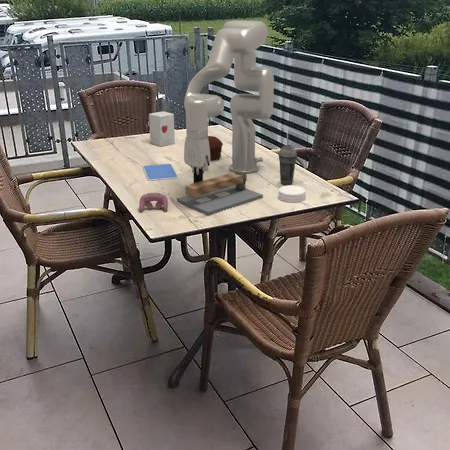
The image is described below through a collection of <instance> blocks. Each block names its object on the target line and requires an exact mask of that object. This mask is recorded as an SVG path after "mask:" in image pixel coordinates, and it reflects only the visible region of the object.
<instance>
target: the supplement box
mask: <svg viewBox="0 0 450 450" xmlns="http://www.w3.org/2000/svg"><path fill="white" fill-rule="evenodd" d="M148 118H149V119H148V121H149V138H150V139H149V140H150V142H149V143H150V144H152V145H155V146H158V147H165V146H170V145H174V144H176V143H175V142H176V141H175V134H176V133H175V114H174V113H172V112H167V111H164V110H163V111H157V112H152V113H151V112H150V113H149V114H148Z"/></svg>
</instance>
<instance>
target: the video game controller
mask: <svg viewBox="0 0 450 450" xmlns="http://www.w3.org/2000/svg"><path fill="white" fill-rule="evenodd" d="M152 202H156V203H155V205H153V203H152ZM168 206H169V201H168V196H167V195H166V194H164V193H160V192H149V193H144V194H143V195H141V197H140V199H139V212H140V213H143V212H144V209H145V207H146V209H148V210H151V209H153V207H155V208H156V209H158V210H160V209H162V207H163V210H164V212H165V213H166V212H168Z"/></svg>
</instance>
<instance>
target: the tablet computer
mask: <svg viewBox="0 0 450 450" xmlns="http://www.w3.org/2000/svg"><path fill="white" fill-rule="evenodd" d="M142 169H143V171H144V174H145V177H146V179H147V181H148V182H153V181H156V182H157V181H164V180H165V181H167V180H176V179H179V176H178V173H177V171H176V170H175V168H174V166H173V164H172V163H163V164H151V165H143V166H142Z"/></svg>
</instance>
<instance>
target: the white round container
mask: <svg viewBox="0 0 450 450" xmlns="http://www.w3.org/2000/svg"><path fill="white" fill-rule="evenodd" d="M306 193H307V191H306V188H304V187H303V186H300V185H295V184H294V185H293V184H292V185H288V186H284V185H282V186H281V187H279V189H278V194H277V198H278V199H279V200H280V201H282V202H285V201H286V202H285V203H300V201H301V202H303V201H305V200H306V195H307V194H306Z"/></svg>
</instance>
